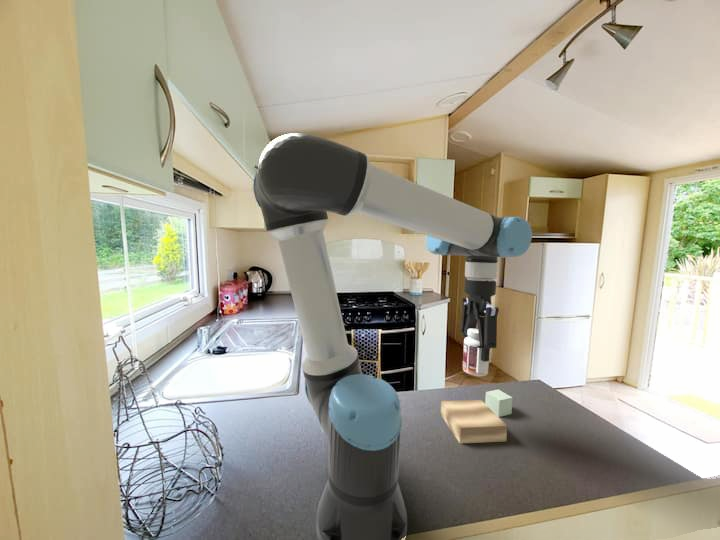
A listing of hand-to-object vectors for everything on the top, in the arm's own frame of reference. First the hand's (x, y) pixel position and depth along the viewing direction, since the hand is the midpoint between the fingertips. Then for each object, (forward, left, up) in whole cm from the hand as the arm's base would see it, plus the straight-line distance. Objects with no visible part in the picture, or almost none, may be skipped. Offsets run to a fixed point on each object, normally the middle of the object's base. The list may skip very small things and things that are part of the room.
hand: (475, 366), depth 73 cm
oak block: (0, 0, -17) cm, 17 cm away
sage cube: (+7, -12, -17) cm, 22 cm away
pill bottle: (0, 0, -2) cm, 2 cm away
